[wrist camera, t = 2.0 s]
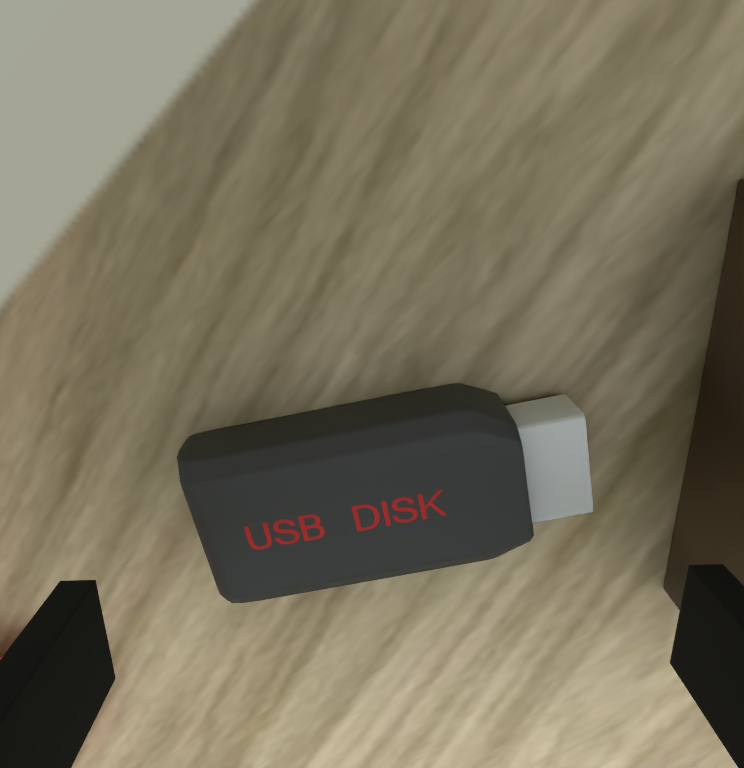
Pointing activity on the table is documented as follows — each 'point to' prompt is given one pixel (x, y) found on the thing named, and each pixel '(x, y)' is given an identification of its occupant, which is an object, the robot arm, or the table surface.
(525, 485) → the usb drive
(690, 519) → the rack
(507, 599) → the table surface
